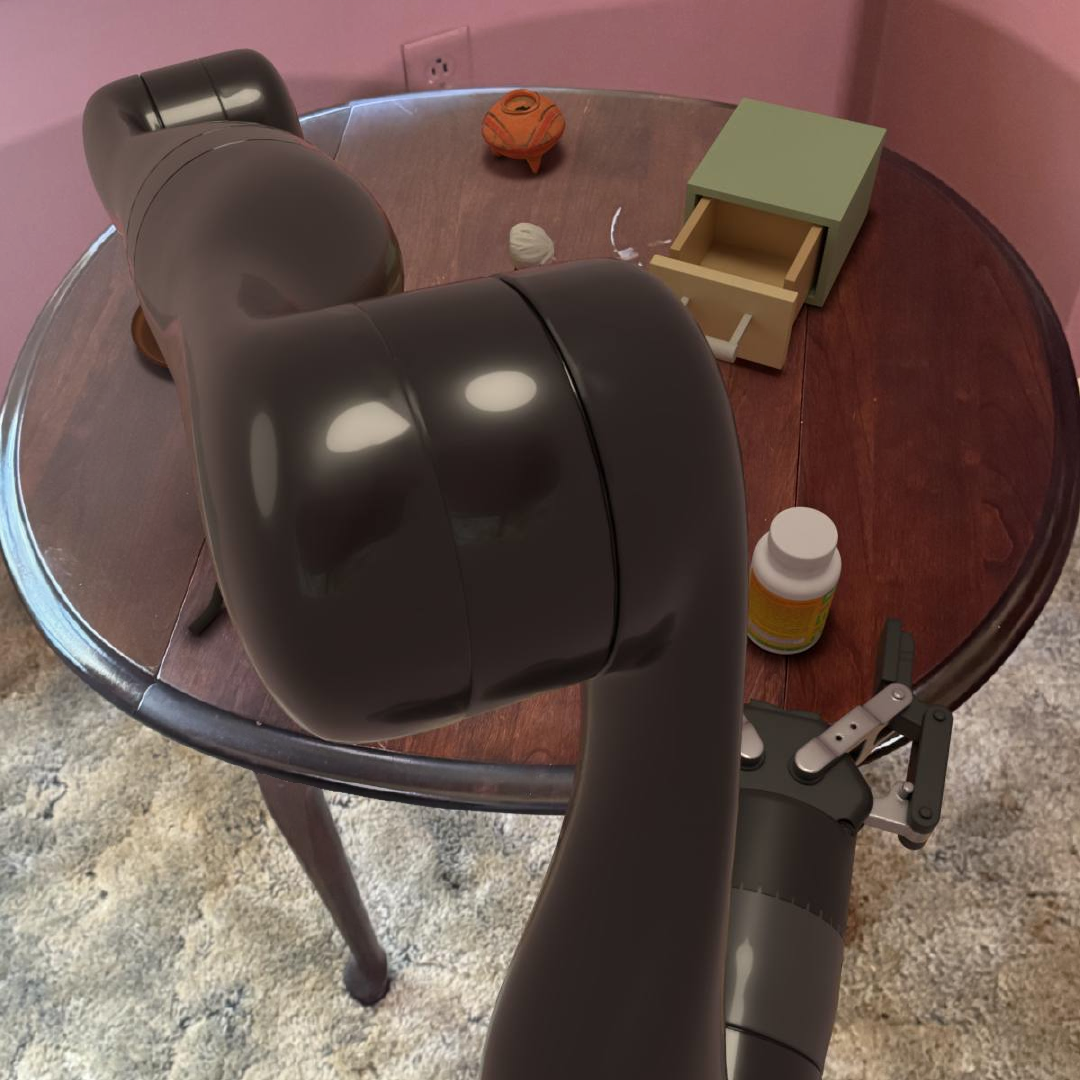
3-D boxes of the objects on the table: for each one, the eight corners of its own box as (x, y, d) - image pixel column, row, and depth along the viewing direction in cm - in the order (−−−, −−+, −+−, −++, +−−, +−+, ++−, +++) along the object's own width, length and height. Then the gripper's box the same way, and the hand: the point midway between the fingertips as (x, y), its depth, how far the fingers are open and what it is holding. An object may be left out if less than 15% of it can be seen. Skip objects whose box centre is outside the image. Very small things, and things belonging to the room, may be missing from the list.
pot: (585, 162, 105) (570, 104, 100) (512, 200, 105) (493, 143, 99) (552, 117, 110) (536, 59, 104) (482, 153, 110) (461, 96, 104)
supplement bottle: (820, 663, 71) (849, 574, 64) (736, 650, 72) (754, 561, 65) (824, 595, 75) (852, 503, 67) (744, 583, 75) (762, 491, 68)
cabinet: (821, 307, 92) (840, 221, 85) (679, 269, 96) (686, 183, 89) (866, 215, 100) (887, 128, 93) (732, 182, 103) (743, 96, 96)
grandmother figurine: (494, 335, 91) (483, 205, 81) (538, 323, 92) (532, 192, 82) (527, 397, 87) (520, 267, 77) (573, 384, 88) (571, 253, 78)
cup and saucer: (109, 338, 93) (83, 280, 88) (224, 268, 98) (205, 209, 93) (196, 406, 88) (173, 348, 83) (312, 328, 93) (297, 268, 88)
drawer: (760, 411, 84) (772, 344, 79) (621, 369, 87) (623, 301, 82) (827, 274, 93) (842, 206, 88) (699, 241, 97) (706, 173, 91)
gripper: (956, 951, 40) (974, 593, 49) (572, 853, 43) (659, 532, 52) (908, 1009, 46) (933, 679, 55) (574, 920, 49) (652, 621, 58)
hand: (800, 608), depth 54 cm, fingers open, 8 cm apart
